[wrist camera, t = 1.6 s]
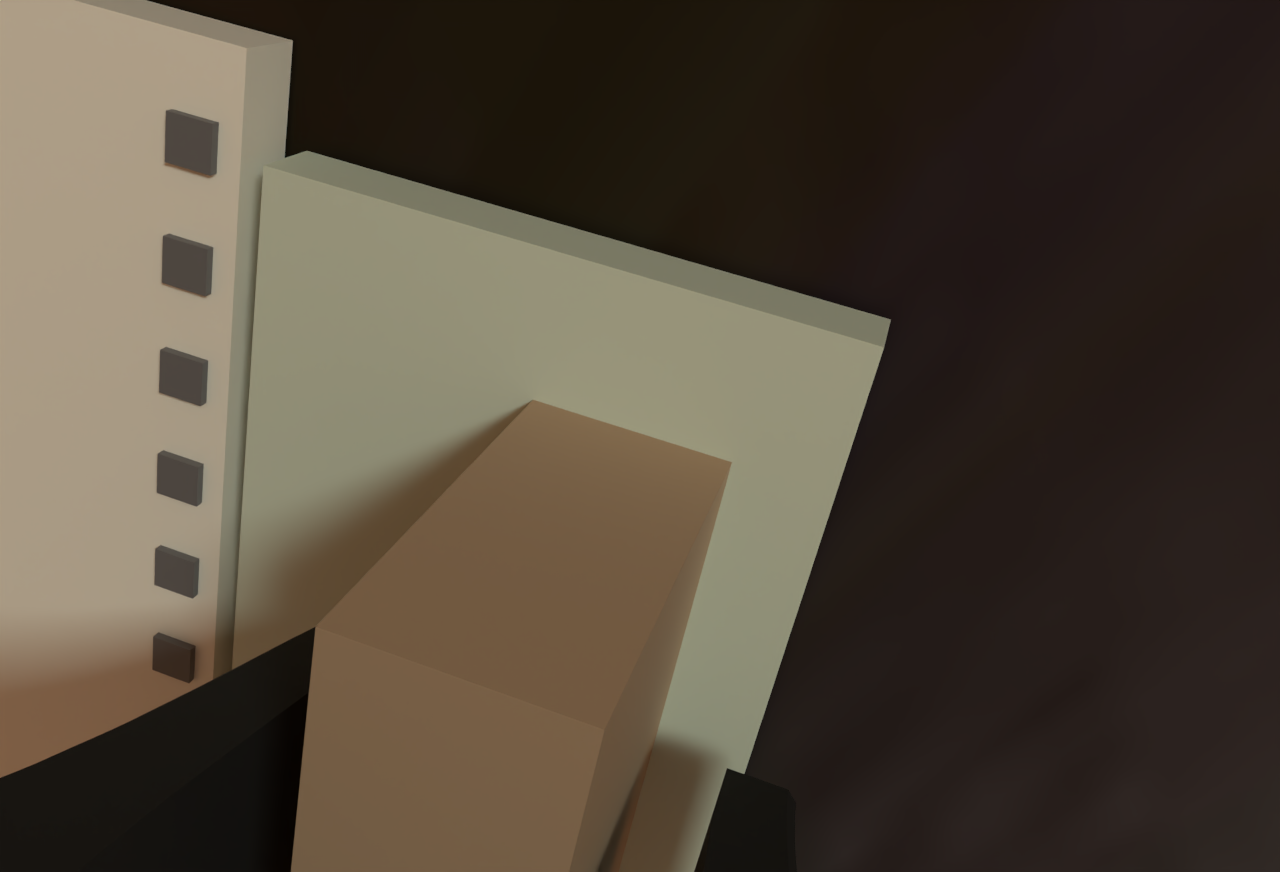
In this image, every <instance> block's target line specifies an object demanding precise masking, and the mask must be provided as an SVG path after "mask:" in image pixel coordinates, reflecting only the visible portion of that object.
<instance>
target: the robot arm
mask: <svg viewBox="0 0 1280 872" xmlns="http://www.w3.org/2000/svg"><path fill="white" fill-rule="evenodd" d="M314 637H315V627H314V628H312V629H310V630H308V631H306V632H304V633H302V634H300V635H298V636H296V637H294V638H292V639H290V640H288V641H286V642H284V643H282V644H280V645H278V646H276V647H274V648H272V649H270V650H269V651H267V652H265V653H263V654H261V655H259V656H257V657H255V658H253V659H251V660H250V661H248V662H246V663H244V664H242V665H240V666H238V667H236V668H234V669H232V670H230V671H228V672H227V673H225V674H223V675H221V676H219V677H217V678H215V679H213V680H211V681H209V682H207V683H205V684H203V685H201V686H200V687H198V688H196V689H194V690H192V691H190V692H188V693H185V694H183V695H181V696H179V697H177V698H175V699H173V700H171V701H169V702H167V703H165V704H163V705H161V706H159V707H157V708H155V709H153V710H151V711H149V712H147V713H145V714H143V715H141V716H139V717H137V718H135V719H133V720H131V721H129V722H127V723H125V724H123V725H120V726H118V727H116V728H114V729H112V730H110V731H107V732H105V733H103V734H101V735H98V736H96V737H94V738H92V739H89V740H87V741H85V742H83V743H80V744H78V745H76V746H74V747H71V748H69V749H67V750H65V751H62V752H60V753H58V754H56V755H53V756H51V757H49V758H47V759H44V760H42V761H40V762H38V763H35V764H33V765H31V766H28V767H26V768H23V769H21V770H18V771H16V772H14V773H11V774H9V775H6V776H3V777H1V778H0V872H291V865H292V855H293V845H294V835H295V825H296V815H297V805H298V796H299V786H300V776H301V766H302V756H303V746H304V736H305V726H306V716H307V707H308V697H309V687H310V677H311V667H312V657H313V647H314ZM795 808H796V803H795V801H794V799H793V797H792V796H791V794H790V792H789V790H787V789H784V788H782V787H779V786H776V785H773V784H770V783H768V782H765V781H762V780H759V779H756V778H753V777H751V776H748V775H745V774H742V773H739V772H737V771H734V770H731V769H728V768H727V770H726V773H725V776H724V779H723V782H722V786H721V789H720V792H719V795H718V798H717V801H716V804H715V808H714V811H713V814H712V817H711V820H710V823H709V826H708V830H707V833H706V836H705V839H704V842H703V845H702V848H701V852H700V855H699V858H698V861H697V864H696V867H695V870H694V872H797V871H796V856H795Z"/></svg>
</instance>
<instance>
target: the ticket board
mask: <svg viewBox="0 0 1280 872" xmlns="http://www.w3.org/2000/svg"><path fill="white" fill-rule="evenodd" d="M292 45H293V40H289V39H285V38H282V37H278V36H274V35H271V34H267V33H263V32H260V31H256V30H252V29H249V28H245V27H242V26H238V25H234V24H231V23H227V22H223V21H220V20H216V19H212V18H209V17H205V16H201V15H198V14H194V13H190V12H187V11H183V10H179V9H176V8H172V7H169V6H165V5H161V4H158V3H154V2H150V1H147V0H0V778H1V777H3V776H6V775H9V774H11V773H14V772H16V771H18V770H21V769H23V768H26V767H28V766H31V765H33V764H35V763H38V762H40V761H42V760H44V759H47V758H49V757H51V756H53V755H56V754H58V753H60V752H62V751H65V750H67V749H69V748H71V747H74V746H76V745H78V744H80V743H83V742H85V741H87V740H89V739H92V738H94V737H96V736H98V735H101V734H103V733H105V732H107V731H110V730H112V729H114V728H116V727H118V726H120V725H123V724H125V723H127V722H129V721H131V720H133V719H135V718H137V717H139V716H141V715H143V714H145V713H147V712H149V711H151V710H153V709H155V708H157V707H159V706H161V705H163V704H165V703H167V702H169V701H171V700H173V699H175V698H177V697H179V696H181V695H183V694H185V693H188V692H190V691H192V690H194V689H196V688H198V687H200V686H201V685H203V684H205V683H207V682H209V681H211V680H213V679H215V678H217V677H219V676H221V675H223V674H225V673H227V672H228V671H230V670H232V659H233V643H234V627H235V611H236V595H237V579H238V563H239V547H240V531H241V515H242V499H243V483H244V467H245V451H246V435H247V419H248V403H249V387H250V371H251V355H252V339H253V323H254V307H255V291H256V275H257V259H258V243H259V227H260V211H261V195H262V179H263V165H266V164H269V163H272V162H275V161H278V160H281V159H284V158H285V144H286V130H287V116H288V101H289V87H290V73H291V59H292Z"/></svg>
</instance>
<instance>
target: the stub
mask: <svg viewBox="0 0 1280 872" xmlns="http://www.w3.org/2000/svg"><path fill="white" fill-rule="evenodd" d="M890 321H891V320H890V319H887V318H883V317H880V316H876V315H873V314H869V313H866V312H863V311H859V310H856V309H852V308H849V307H845V306H842V305H838V304H835V303H831V302H828V301H825V300H821V299H818V298H814V297H811V296H807V295H804V294H800V293H797V292H793V291H790V290H787V289H783V288H780V287H776V286H773V285H769V284H766V283H762V282H759V281H755V280H752V279H749V278H745V277H742V276H738V275H735V274H731V273H728V272H724V271H721V270H717V269H714V268H710V267H707V266H704V265H700V264H697V263H693V262H690V261H686V260H683V259H679V258H676V257H672V256H669V255H666V254H662V253H659V252H655V251H652V250H648V249H645V248H641V247H638V246H634V245H631V244H628V243H624V242H621V241H617V240H614V239H610V238H607V237H603V236H600V235H596V234H593V233H589V232H586V231H583V230H579V229H576V228H572V227H569V226H565V225H562V224H558V223H555V222H551V221H548V220H545V219H541V218H538V217H534V216H531V215H527V214H524V213H520V212H517V211H513V210H510V209H507V208H503V207H500V206H496V205H493V204H489V203H486V202H482V201H479V200H475V199H472V198H469V197H465V196H462V195H458V194H455V193H451V192H448V191H444V190H441V189H437V188H434V187H430V186H427V185H424V184H420V183H417V182H413V181H410V180H406V179H403V178H399V177H396V176H392V175H389V174H386V173H382V172H379V171H375V170H372V169H368V168H365V167H361V166H358V165H354V164H351V163H348V162H344V161H341V160H337V159H334V158H330V157H327V156H323V155H320V154H316V153H313V152H310V151H305V152H302V153H299V154H296V155H293V156H290V157H287V158H284V159H281V160H278V161H275V162H272V163H269V164H266V165H263V179H262V195H261V211H260V227H259V243H258V259H257V275H256V291H255V307H254V323H253V339H252V355H251V371H250V387H249V403H248V419H247V435H246V451H245V467H244V483H243V499H242V515H241V531H240V547H239V563H238V579H237V595H236V611H235V627H234V643H233V659H232V669H234V668H236V667H238V666H240V665H242V664H244V663H246V662H248V661H250V660H251V659H253V658H255V657H257V656H259V655H261V654H263V653H265V652H267V651H269V650H270V649H272V648H274V647H276V646H278V645H280V644H282V643H284V642H286V641H288V640H290V639H292V638H294V637H296V636H298V635H300V634H302V633H304V632H306V631H308V630H310V629H312V628H314V627H315V637H314V647H313V657H312V667H311V677H310V687H309V697H308V707H307V716H306V726H305V736H304V746H303V756H302V766H301V776H300V786H299V796H298V805H297V815H296V825H295V835H294V845H293V855H292V865H291V872H694V870H695V867H696V864H697V861H698V858H699V855H700V852H701V848H702V845H703V842H704V839H705V836H706V833H707V830H708V826H709V823H710V820H711V817H712V814H713V811H714V808H715V804H716V801H717V798H718V795H719V792H720V789H721V786H722V782H723V779H724V776H725V773H726V770H727V768H728V769H731V770H734V771H737V772H739V773H742V774H744V773H745V770H746V767H747V764H748V761H749V758H750V755H751V752H752V749H753V746H754V743H755V740H756V737H757V734H758V730H759V727H760V724H761V721H762V718H763V715H764V712H765V709H766V706H767V703H768V700H769V697H770V694H771V691H772V688H773V685H774V682H775V679H776V676H777V672H778V669H779V666H780V663H781V660H782V657H783V654H784V651H785V648H786V645H787V642H788V639H789V636H790V633H791V630H792V627H793V624H794V621H795V618H796V614H797V611H798V608H799V605H800V602H801V599H802V596H803V593H804V590H805V587H806V584H807V581H808V578H809V575H810V572H811V569H812V566H813V563H814V560H815V556H816V553H817V550H818V547H819V544H820V541H821V538H822V535H823V532H824V529H825V526H826V523H827V520H828V517H829V514H830V511H831V508H832V505H833V502H834V498H835V495H836V492H837V489H838V486H839V483H840V480H841V477H842V474H843V471H844V468H845V465H846V462H847V459H848V456H849V453H850V450H851V447H852V444H853V440H854V437H855V434H856V431H857V428H858V425H859V422H860V419H861V416H862V413H863V410H864V407H865V404H866V401H867V398H868V395H869V392H870V389H871V386H872V382H873V379H874V376H875V373H876V370H877V367H878V364H879V361H880V358H881V355H882V352H883V349H884V345H885V341H886V337H887V333H888V329H889V325H890Z"/></svg>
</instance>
